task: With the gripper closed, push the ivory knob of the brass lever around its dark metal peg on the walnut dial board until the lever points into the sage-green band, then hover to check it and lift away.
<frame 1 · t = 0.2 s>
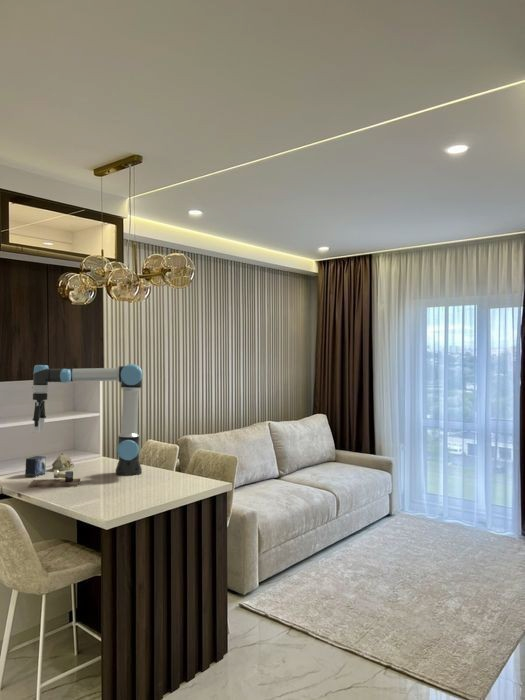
hand: (39, 431, 296), 27 cm above the table, tool pointing down, fingers open, 13 cm apart
small box: (35, 476, 307), on the table
dial board: (55, 484, 285), on the table
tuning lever: (63, 475, 288), point 4 cm above the table, hinge at -35.0°
ceramic model: (62, 469, 327), on the table
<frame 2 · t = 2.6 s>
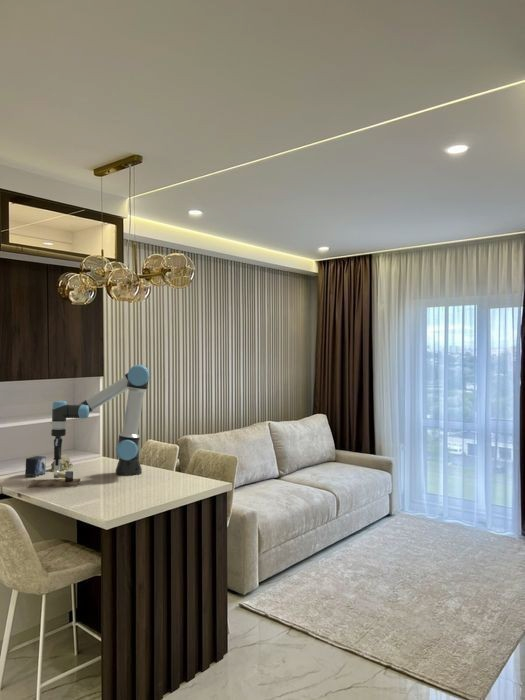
hand: (56, 471, 298), 4 cm above the table, tool pointing down, fingers closed
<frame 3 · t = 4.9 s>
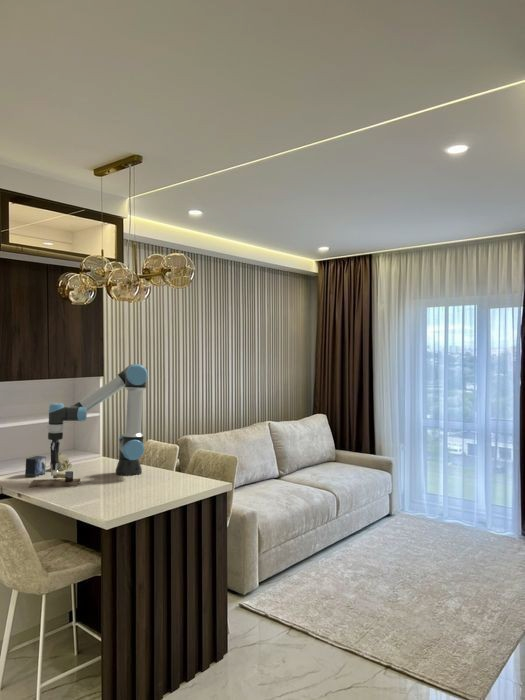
hand: (53, 475, 291), 4 cm above the table, tool pointing down, fingers closed
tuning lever: (62, 475, 288), point 4 cm above the table, hinge at -31.7°, touching gripper
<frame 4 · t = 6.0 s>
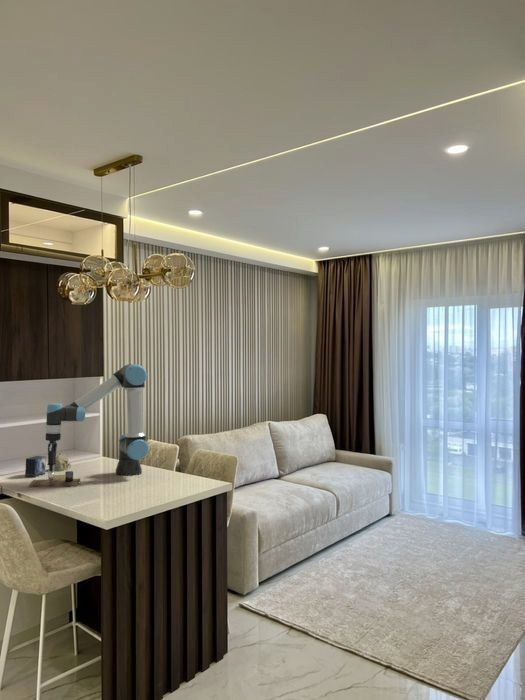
hand: (51, 477, 285), 4 cm above the table, tool pointing down, fingers closed
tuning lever: (60, 476, 285), point 4 cm above the table, hinge at 9.6°, touching gripper
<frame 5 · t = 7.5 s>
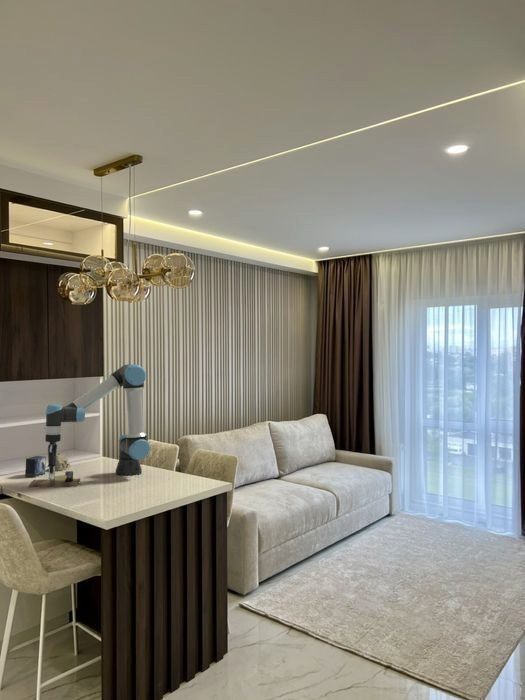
hand: (51, 478, 282), 4 cm above the table, tool pointing down, fingers closed
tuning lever: (61, 477, 283), point 4 cm above the table, hinge at 30.5°, touching gripper
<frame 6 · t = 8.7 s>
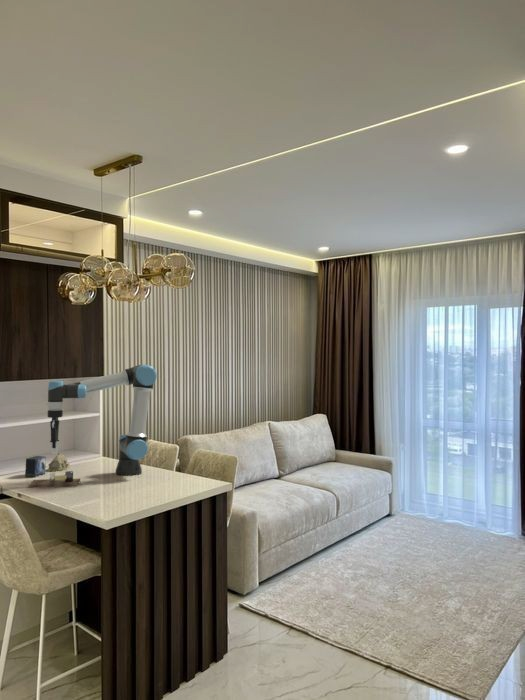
hand: (54, 453, 286), 16 cm above the table, tool pointing down, fingers closed
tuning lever: (61, 477, 283), point 4 cm above the table, hinge at 30.5°
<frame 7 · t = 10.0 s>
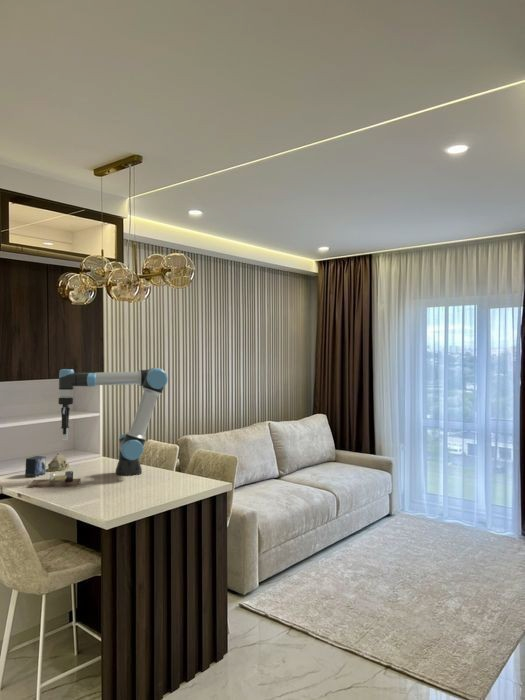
hand: (64, 440, 294), 22 cm above the table, tool pointing down, fingers closed
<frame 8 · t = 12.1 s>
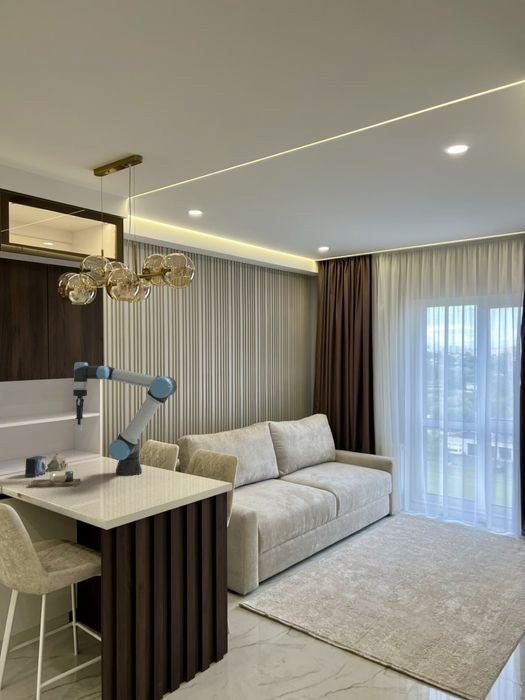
hand: (79, 430, 307), 26 cm above the table, tool pointing down, fingers closed
at the end: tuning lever at +30° (first picture: -35°) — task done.
